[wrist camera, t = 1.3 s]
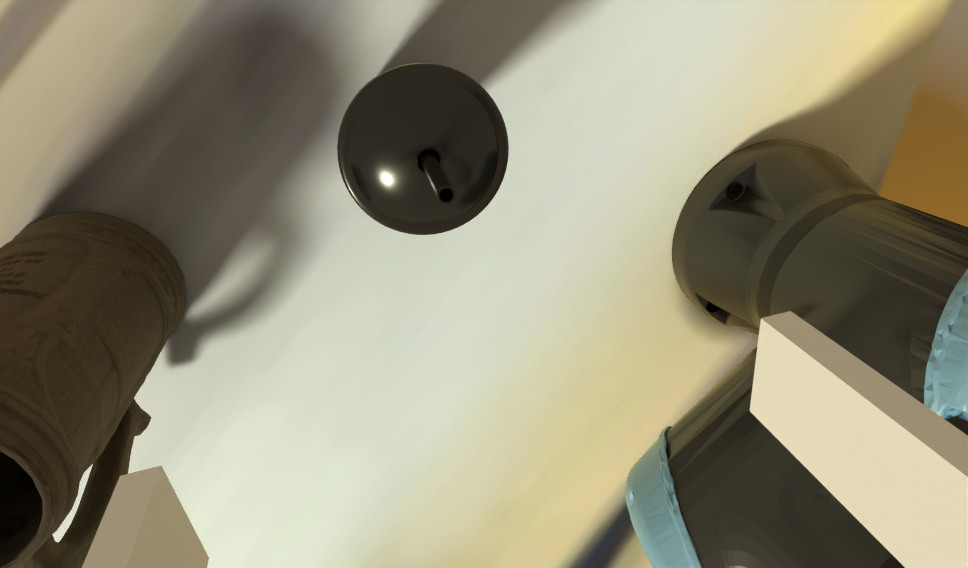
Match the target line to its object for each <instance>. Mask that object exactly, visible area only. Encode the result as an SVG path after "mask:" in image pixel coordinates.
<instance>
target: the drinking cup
mask: <svg viewBox="0 0 968 568" xmlns="http://www.w3.org/2000/svg"><path fill="white" fill-rule="evenodd" d="M337 148H338V162H339V167H340V172H341V175H342V178H343V181H344V183H345V185H346V187H347V189H348V191H349V193H350V195H351V196H352V198H353V199H354V201H355V202H356V203H357V204H358V205H359V207H360V208H361V209H362V210H363V211H364V212H365V213H366V214H368V215H369V216H370V217H371V218H373V219H374V220H376V221H377V222H379V223H380V224H382V225H384V226H386V227H388V228H391V229H393V230H396V231H399V232H403V233H408V234H416V235H429V234H437V233H443V232H446V231H450V230H452V229H455V228H457V227H459V226H462V225H464V224H465V223H467V222H469V221H470V220H472V219H473V218H474V217H476V216H477V215H478V214H479V213H480V212H482V211H483V210H484V208H485V207H486V206H487V205H488V204H489V203H490V202H491V200H492V199H493V198H494V196H495V194H496V193H497V191H498V189H499V187H500V185H501V183H502V180H503V178H504V175H505V172H506V167H507V162H508V148H509V146H508V136H507V130H506V126H505V123H504V120H503V117H502V115H501V113H500V111H499V109H498V107H497V105H496V104H495V102H494V100H493V99H492V98H491V96H490V95H489V94H488V93H487V91H486V90H485V89H484V88H483V87H482V86H481V85H479V84H478V83H477V82H476V81H475V80H473V79H472V78H470V77H469V76H467V75H466V74H464V73H462V72H460V71H458V70H455V69H453V68H450V67H447V66H444V65H439V64H433V63H412V64H405V65H401V66H398V67H395V68H392V69H389V70H387V71H385V72H383V73H381V74H380V75H378V76H376V77H375V78H373V79H372V80H371V81H369V82H368V83H367V84H366V85H365V86H364V87H363V88H362V89H361V90H360V91H359V92H358V93H357V94H356V96H355V97H354V98H353V100H352V101H351V103H350V104H349V106H348V108H347V110H346V112H345V115H344V117H343V120H342V123H341V126H340V130H339V135H338V146H337Z"/></svg>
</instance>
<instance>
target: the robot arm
mask: <svg viewBox="0 0 968 568" xmlns="http://www.w3.org/2000/svg"><path fill="white" fill-rule="evenodd" d="M672 262H673V269H674V273H675V276H676V279H677V282H678V284H679V286H680V288H681V289H682V291H683V292H684V294H685V295H686V296H687V298H688V299H689V300H690V301H691V302H693V303H694V304H695V305H696V306H697V307H698V308H700V309H701V310H702V311H703V312H704V313H705V314H707V315H708V316H710V317H711V318H713V319H715V320H716V321H718V322H720V323H723V324H725V325H728V326H732V327H735V328H739V329H742V330H746V331H749V332H753V333H756V334H759V338H758V346H757V348H756V349H754V350H753V351H752V352H751V353H750V354H749V355H747V356H746V357H745V358H744V359H743V360H742V361H741V362H740V363H739V364H738V365H737V366H736V367H735V368H734V369H733V370H732V371H731V372H730V373H729V374H728V375H727V376H726V377H724V378H723V379H722V380H721V381H720V382H719V383H718V384H717V385H716V386H715V387H714V388H713V389H712V390H711V391H710V392H709V393H708V394H707V395H706V396H705V397H704V398H702V399H701V400H700V401H699V402H698V403H697V404H696V405H695V406H694V407H693V408H692V409H691V410H690V411H689V412H688V413H687V414H685V415H684V416H683V417H682V418H681V419H680V420H679V421H678V422H677V423H676V424H675V425H673V426H672V427H666V428H665V429H664V430H663V431H662V432H661V434H660V436H659V439H658V440H657V441H656V442H655V443H654V444H653V445H652V446H651V448H650V449H649V450H648V451H647V452H646V453H645V454H644V455H643V456H642V457H641V458H640V459H639V460H638V461H637V462H636V463H635V465H634V466H633V467H632V469H631V470H630V472H629V474H628V477H627V482H626V502H627V506H628V510H629V513H630V518H631V521H632V524H633V527H634V529H635V532H636V534H637V536H638V539H639V541H640V543H641V545H642V547H643V549H644V551H645V553H646V555H647V557H648V559H649V561H650V563H651V565H652V566H653V568H968V227H966V226H963V225H960V224H957V223H954V222H951V221H948V220H945V219H942V218H939V217H937V216H934V215H931V214H928V213H925V212H922V211H920V210H917V209H914V208H911V207H908V206H905V205H902V204H899V203H896V202H893V201H891V200H888V199H885V198H882V197H880V196H879V195H878V194H877V193H875V192H874V191H873V190H872V189H871V188H870V187H869V186H868V185H867V184H866V183H865V182H864V181H863V180H862V179H861V178H860V177H859V176H858V175H857V174H856V173H854V172H853V171H852V170H851V169H850V168H849V166H848V165H847V164H845V163H844V162H843V161H842V160H841V159H840V158H838V157H837V156H835V155H834V154H832V153H830V152H828V151H826V150H824V149H821V148H818V147H815V146H812V145H808V144H805V143H802V142H798V141H792V140H771V141H766V142H761V143H757V144H754V145H752V146H749V147H747V148H744V149H742V150H740V151H738V152H736V153H734V154H733V155H731V156H729V157H728V158H727V159H725V160H724V161H722V162H721V163H720V164H718V165H717V166H716V167H715V168H714V169H713V170H711V171H710V172H709V173H708V174H707V175H706V176H705V177H704V179H703V180H702V181H701V182H700V183H699V184H698V186H697V187H696V188H695V190H694V191H693V192H692V194H691V195H690V197H689V199H688V200H687V202H686V204H685V206H684V208H683V210H682V212H681V214H680V217H679V219H678V222H677V225H676V228H675V233H674V237H673V244H672ZM208 559H209V557H208V555H207V553H206V551H205V549H204V548H203V546H202V544H201V542H200V540H199V538H198V536H197V534H196V532H195V530H194V528H193V526H192V524H191V522H190V520H189V518H188V516H187V514H186V513H185V511H184V509H183V507H182V505H181V503H180V501H179V499H178V497H177V495H176V493H175V491H174V489H173V487H172V485H171V483H170V481H169V479H168V478H167V476H166V474H165V472H164V470H163V468H162V466H158V467H154V468H150V469H146V470H142V471H138V472H134V473H130V474H126V475H122V476H120V477H119V480H118V482H117V484H116V487H115V489H114V492H113V494H112V496H111V499H110V501H109V504H108V506H107V508H106V511H105V513H104V516H103V518H102V520H101V523H100V525H99V528H98V530H97V532H96V535H95V537H94V540H93V542H92V544H91V547H90V549H89V552H88V554H87V556H86V559H85V561H84V564H83V566H82V568H207V564H208Z"/></svg>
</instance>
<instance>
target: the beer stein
mask: <svg viewBox="0 0 968 568" xmlns="http://www.w3.org/2000/svg"><path fill="white" fill-rule="evenodd" d="M185 304H186V291H185V284H184V279H183V276H182V274H181V272H180V270H179V267H178V265H177V264H176V262H175V261H174V259H173V258H172V256H171V255H170V253H169V252H168V251H167V250H166V249H165V248H164V247H163V246H162V245H161V244H160V243H159V242H158V241H157V240H156V239H155V238H154V237H152V236H151V235H149V234H148V233H147V232H145V231H144V230H143V229H141V228H138V227H136V226H134V225H132V224H130V223H128V222H126V221H124V220H121V219H117V218H114V217H111V216H108V215H102V214H95V213H82V212H75V213H66V214H57V215H53V216H51V217H48V218H45V219H43V220H40V221H38V222H36V223H34V224H32V225H30V226H29V227H27V228H26V229H24V230H23V231H22V232H20V233H19V234H18V235H16V236H15V237H14V239H13V240H12V241H10V242H8V243H7V244H5V245H4V246H3V247H1V248H0V568H82V566H83V564H84V561H85V559H86V556H87V554H88V552H89V549H90V547H91V544H92V542H93V540H94V537H95V535H96V532H97V530H98V528H99V525H100V523H101V520H102V518H103V516H104V513H105V511H106V508H107V506H108V504H109V501H110V499H111V496H112V494H113V492H114V489H115V487H116V484H117V482H118V480H119V477H120V476H122V475H126V474H128V468H129V461H130V454H131V449H132V445H133V440H134V437H135V436H137V435H140V434H141V433H142V432H143V431H144V430H145V429H146V428H147V426H148V424H149V422H150V419H151V417H150V416H149V415H148V414H147V413H146V412H145V411H144V410H142V409H141V408H140V406H139V405H138V404H137V403H136V401H135V400H134V397H135V395H136V393H137V392H138V390H139V389H140V387H141V386H142V384H143V383H144V381H145V379H146V376H147V375H148V373H149V372H150V371H151V369H152V367H153V365H154V363H155V361H156V360H157V358H158V356H159V354H160V352H161V351H162V349H163V347H164V345H165V343H166V341H167V339H168V338H169V337H170V336H171V335H172V334H173V333H174V331H175V330H176V328H177V326H178V324H179V323H180V321H181V318H182V316H183V313H184V309H185ZM92 464H93V466H92V469H91V472H90V475H89V478H88V481H87V484H86V487H85V490H84V492H83V495H82V498H81V501H80V504H79V507H78V509H77V512H76V514H75V516H74V518H73V521H72V523H71V525H70V527H69V528H68V530H67V531H66V533H65V535H64V536H63V538H62V539H61V541H60V542H59V543H57V542H56V541H55V540H54V538H53V536H52V534H53V533H54V532H56V531H57V529H58V528H59V526H60V525H61V524H62V522H63V521H64V519H65V518H66V516H67V515H68V514H69V512H70V511H71V509H72V507H73V505H74V502H75V500H76V497H77V495H78V489H79V483H80V480H81V478H82V476H83V473H84V472H85V471H86V470H87V469H88V468H89V467H90V466H91V465H92Z"/></svg>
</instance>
